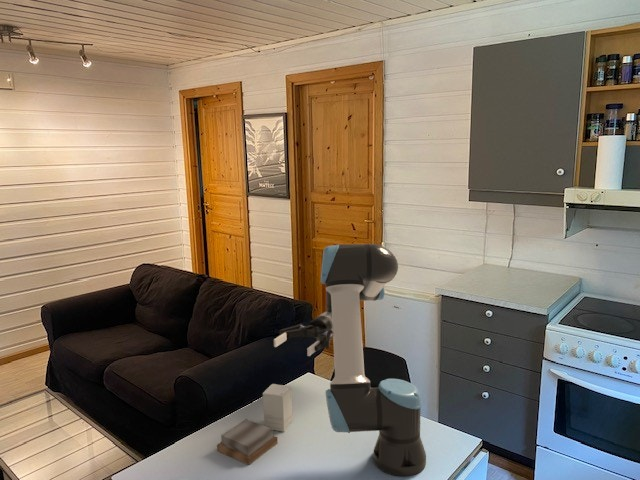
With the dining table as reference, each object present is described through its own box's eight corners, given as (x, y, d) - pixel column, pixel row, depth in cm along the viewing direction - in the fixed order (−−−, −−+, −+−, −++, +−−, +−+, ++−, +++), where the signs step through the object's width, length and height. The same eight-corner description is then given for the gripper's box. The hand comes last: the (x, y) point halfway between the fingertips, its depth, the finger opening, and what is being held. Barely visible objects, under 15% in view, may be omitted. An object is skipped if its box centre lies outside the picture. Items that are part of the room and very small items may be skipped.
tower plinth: (277, 443, 151) (277, 428, 150) (249, 465, 140) (248, 449, 140) (246, 430, 158) (246, 416, 157) (217, 450, 148) (216, 435, 147)
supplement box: (293, 421, 164) (292, 386, 162) (284, 432, 157) (282, 396, 155) (273, 417, 166) (272, 382, 164) (263, 428, 159) (262, 392, 157)
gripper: (353, 341, 175) (323, 366, 157) (295, 327, 187) (262, 349, 170) (353, 322, 173) (322, 345, 155) (295, 309, 186) (261, 329, 168)
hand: (291, 347), depth 163 cm, fingers open, 13 cm apart
